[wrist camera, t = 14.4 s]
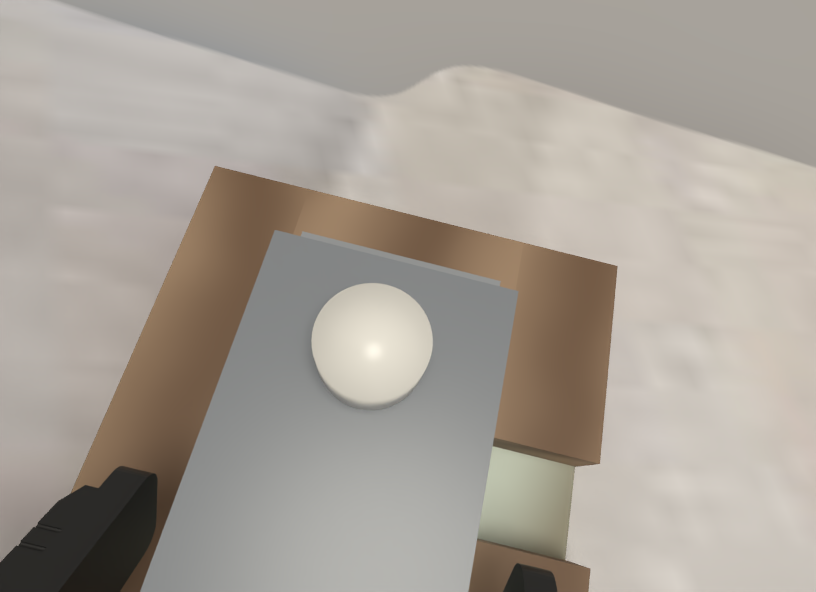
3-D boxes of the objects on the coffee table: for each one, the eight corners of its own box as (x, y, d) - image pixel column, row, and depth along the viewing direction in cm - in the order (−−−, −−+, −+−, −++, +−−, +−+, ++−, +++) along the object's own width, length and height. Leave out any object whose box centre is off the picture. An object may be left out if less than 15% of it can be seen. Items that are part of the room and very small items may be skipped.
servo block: (251, 574, 16) (62, 722, 6) (324, 334, 19) (284, 150, 9) (391, 609, 16) (450, 820, 6) (444, 364, 19) (544, 216, 9)
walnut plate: (27, 695, 15) (-36, 734, 13) (231, 203, 21) (215, 165, 19) (529, 820, 15) (562, 883, 13) (587, 291, 21) (617, 266, 19)
